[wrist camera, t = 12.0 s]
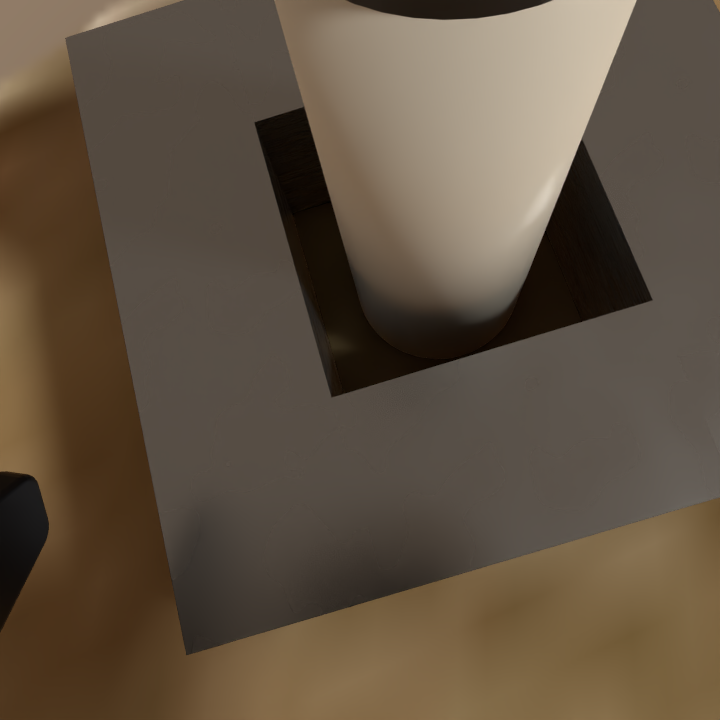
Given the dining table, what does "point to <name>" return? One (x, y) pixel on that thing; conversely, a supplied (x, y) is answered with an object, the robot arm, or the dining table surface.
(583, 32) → the plug
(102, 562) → the dining table surface
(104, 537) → the dining table surface
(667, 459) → the gray rectangular frame
